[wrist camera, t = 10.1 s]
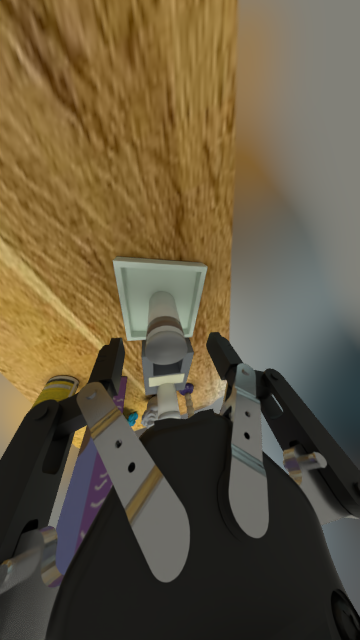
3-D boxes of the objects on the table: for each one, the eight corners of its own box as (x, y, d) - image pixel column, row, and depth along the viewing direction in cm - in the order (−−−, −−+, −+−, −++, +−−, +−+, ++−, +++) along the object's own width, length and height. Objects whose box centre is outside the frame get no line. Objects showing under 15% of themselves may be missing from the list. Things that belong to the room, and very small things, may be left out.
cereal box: (102, 374, 26) (-24, 793, 7) (127, 376, 28) (83, 706, 9) (92, 412, 34) (23, 648, 15) (112, 411, 36) (73, 620, 17)
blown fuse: (148, 289, 16) (144, 337, 10) (177, 292, 17) (191, 337, 11) (148, 313, 19) (145, 365, 12) (173, 314, 19) (183, 363, 13)
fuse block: (142, 337, 22) (139, 397, 14) (187, 335, 24) (206, 386, 16) (145, 376, 29) (145, 430, 21) (180, 372, 31) (191, 420, 23)
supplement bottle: (42, 378, 23) (-1, 440, 16) (71, 372, 24) (41, 430, 17) (59, 390, 26) (28, 447, 19) (84, 385, 26) (63, 439, 20)
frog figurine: (142, 392, 33) (141, 426, 27) (169, 389, 35) (173, 421, 29) (141, 403, 36) (140, 435, 31) (166, 400, 38) (169, 429, 33)
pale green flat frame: (116, 256, 14) (112, 260, 13) (201, 262, 16) (207, 266, 15) (128, 331, 21) (127, 340, 19) (189, 328, 23) (192, 336, 21)
